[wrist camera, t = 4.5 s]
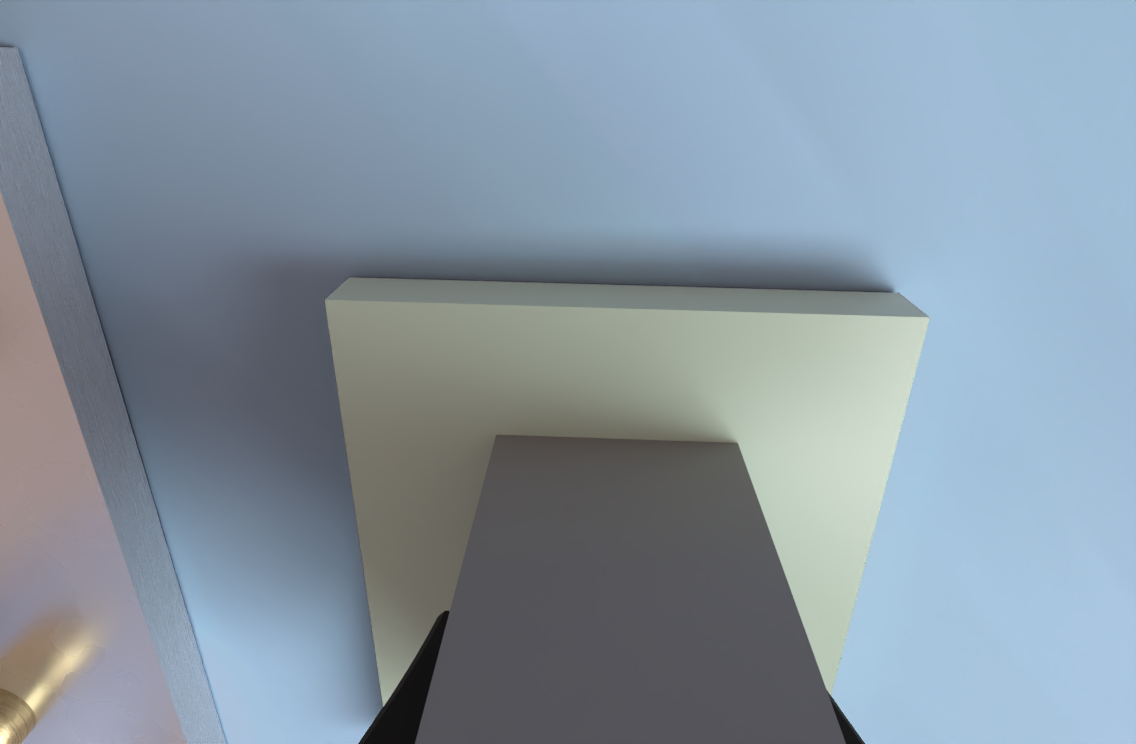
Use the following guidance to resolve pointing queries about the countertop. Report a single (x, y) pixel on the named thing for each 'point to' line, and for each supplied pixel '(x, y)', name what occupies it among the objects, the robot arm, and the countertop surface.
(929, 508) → the countertop surface
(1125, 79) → the countertop surface
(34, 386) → the plate
